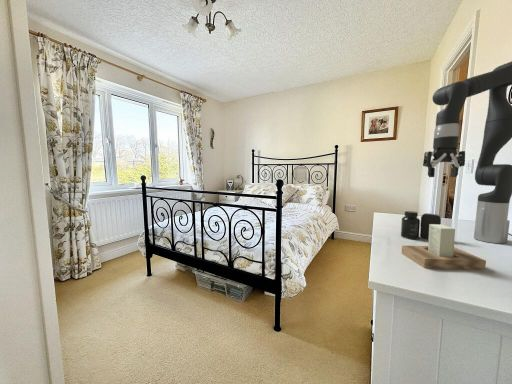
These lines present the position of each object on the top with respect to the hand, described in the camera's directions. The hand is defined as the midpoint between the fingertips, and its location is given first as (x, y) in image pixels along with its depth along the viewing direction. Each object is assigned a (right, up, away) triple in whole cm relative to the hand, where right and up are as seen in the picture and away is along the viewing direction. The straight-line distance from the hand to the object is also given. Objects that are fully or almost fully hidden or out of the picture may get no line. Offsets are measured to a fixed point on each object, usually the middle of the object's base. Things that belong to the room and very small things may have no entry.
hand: (442, 177), depth 87 cm
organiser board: (-13, -30, -14) cm, 35 cm away
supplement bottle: (-5, -27, +11) cm, 30 cm away
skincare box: (-13, -30, -14) cm, 36 cm away
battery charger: (+3, -27, +10) cm, 29 cm away
